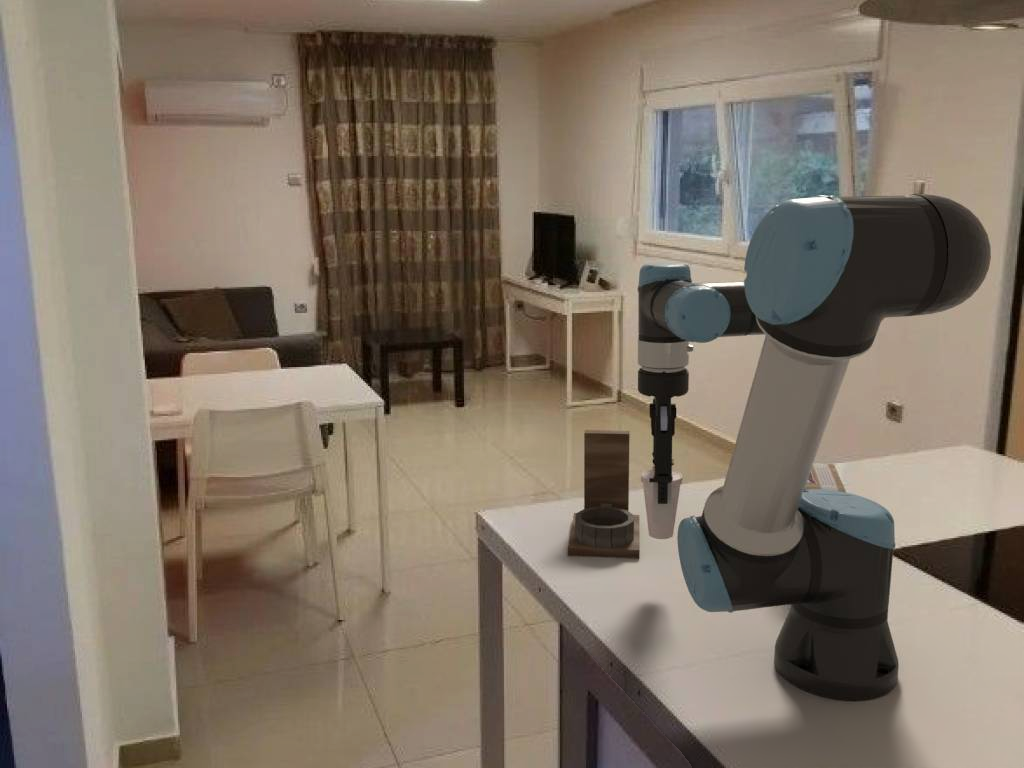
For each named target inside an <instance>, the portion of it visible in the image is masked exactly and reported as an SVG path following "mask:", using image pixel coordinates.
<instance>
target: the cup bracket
mask: <svg viewBox="0 0 1024 768" xmlns="http://www.w3.org/2000/svg"><path fill="white" fill-rule="evenodd" d="M630 431H631V430H610V429H609V430H603V429H601V430H600V429H596V430H595V429H585V430H584V434H583V435H584V436H583V439H584V442H583V443H584V446H583V447H584V448H583V449H584V453H583V455H584V457H583V458H584V459H583V461H584V463H583V465H584V466H583V468H584V475H583V476H584V477H583V479H584V480H583V481H584V482H583V484H584V485H583V487H584V489H583V493H584V494H583V495H584V496H583V497H584V499H583V500H584V501H583V504H584V505H583V507H584V508H583V509H582V510H580V511H577V512H574V513H573V516H572V523H571V527H570V532H569V539H568V542H567V543H568V544H567V556H569V557H571V556H573V557H590V558H591V557H592V558H593V557H594V558H616V559H617V558H618V559H619V558H621V559H640V556H641V555H640V547H641V546H640V545H641V542H640V538H641V537H640V515H639V514H633V513H632V512H630V511H629V502H630V500H629V497H630V495H629V493H630V435H631V434H630V433H631V432H630Z"/></svg>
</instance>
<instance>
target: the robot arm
mask: <svg viewBox="0 0 1024 768" xmlns="http://www.w3.org/2000/svg"><path fill="white" fill-rule="evenodd" d="M991 253H992V252H991V244H990V239H989V234H988V233H987V231H986V229H985V227H984V225H983V223H982V221H980V219H979V218H978V217H977V215H975V213H974V212H972V211H971V209H969V208H967V207H965V206H964V205H963V204H961V203H959V202H956V201H955V200H953V199H951V198H948V197H945V196H944V197H943V196H940V195H934V194H933V195H932V194H927V193H925V194H922V193H921V194H915V193H914V194H909V195H905V194H904V195H903V194H898V195H874V196H873V195H870V196H868V195H866V196H865V195H863V196H859V195H858V196H836V195H833V194H832V195H831V194H818V195H814V196H813V195H812V196H811V197H803V198H791V199H788V200H785V201H782V202H781V203H779V204H777V205H775V206H774V207H772V208H771V209H769V210H768V211H767V213H765V214H764V215H763V217H762V218H761V219H760V221H759V222H758V224H757V226H756V227H755V229H754V231H753V233H752V234H751V238H750V240H749V243H748V247H747V249H746V254H745V260H744V266H743V268H744V269H743V270H744V271H745V272H746V277H745V278H744V280H743V281H742V280H741V281H723V282H722V281H721V282H720V281H719V282H718V281H717V282H698V283H697V282H693V281H692V275H691V268H690V266H689V265H688V264H686V263H683V262H682V263H681V262H652V263H646V264H643V265H642V266H641V267H640V269H639V273H638V275H639V276H638V286H637V292H638V294H637V295H638V296H637V297H638V306H637V307H638V331H637V333H638V336H637V337H638V338H637V364H638V365H639V369H638V370H637V391H638V393H639V394H641V395H642V396H645V397H646V396H647V397H653V399H652V402H650V403H649V406H648V407H649V408H648V409H649V418H650V428H651V436H652V437H653V440H652V441H653V442H652V446H653V447H652V449H653V450H652V452H651V455H652V458H653V459H652V464H653V466H652V470H654V469H655V474H654V478H649V482H653V523H671V497H672V480H673V476H672V469H673V466H675V459H673V437H674V436H675V434H676V433H675V432H676V430H675V429H676V427H675V426H676V425H675V424H676V422H675V421H676V418H677V405H676V404H677V403H672V399H673V398H674V397H682V396H685V395H687V394H688V392H689V388H690V387H689V385H690V383H689V382H690V381H689V380H690V379H689V378H690V370H688V368H686V367H687V366H688V365H689V364H690V362H689V359H690V355H689V353H691V352H693V351H694V346H693V345H692V344H690V343H697V344H705V343H710V342H713V341H714V340H717V339H718V338H728V337H731V338H732V337H743V336H758V335H759V336H760V335H761V336H762V335H764V336H765V337H764V341H763V343H762V347H761V351H760V355H759V357H758V361H757V366H756V369H755V371H754V372H755V373H754V376H753V379H752V384H751V386H750V390H749V393H748V397H747V400H746V405H745V408H744V411H743V415H742V418H741V422H740V425H739V429H738V432H737V436H736V440H735V442H734V447H733V451H732V454H731V458H730V462H729V464H728V469H727V472H726V476H725V479H724V483H723V485H722V486H719V487H717V488H716V489H715V490H713V491H712V492H711V493H710V494H709V495H708V496H707V498H706V500H705V503H704V507H703V511H702V514H701V515H700V516H695V515H690V516H689V517H686V518H685V517H684V518H683V519H681V521H680V522H679V525H678V528H677V536H676V537H677V538H676V539H677V551H678V559H679V564H680V567H681V572H682V576H683V579H684V582H685V585H686V588H687V590H688V593H689V594H690V596H691V598H692V600H693V602H694V603H695V604H696V605H697V607H698V608H699V609H701V610H703V611H705V612H707V613H720V612H721V613H723V612H724V613H725V612H726V613H727V612H728V613H729V614H730V613H734V612H737V611H738V612H739V611H748V610H757V609H764V608H773V607H781V606H782V607H783V606H790V609H789V610H788V613H787V615H786V617H785V620H784V622H783V625H782V626H781V629H780V631H779V633H778V637H776V641H775V644H774V653H773V654H774V656H773V660H774V661H773V663H774V666H775V669H776V671H777V672H778V673H779V674H780V676H782V677H783V678H784V679H785V680H786V681H787V682H789V683H790V684H792V685H794V686H795V687H798V688H799V689H801V690H804V691H807V692H809V693H812V694H814V695H818V696H821V697H825V698H829V699H836V700H842V701H843V700H845V701H863V700H871V699H875V698H876V699H877V698H880V697H882V696H885V695H886V694H888V693H890V692H891V691H892V690H893V689H895V687H896V686H897V683H898V678H899V658H898V656H897V649H896V647H895V643H894V640H893V636H892V633H891V628H890V627H889V626H890V625H889V623H888V622H889V621H888V617H889V616H888V615H889V605H890V592H891V582H892V581H891V580H892V570H893V569H892V568H893V559H894V558H893V557H894V549H895V548H896V542H895V541H896V539H895V521H894V517H893V515H892V513H891V512H890V511H889V510H888V509H887V508H886V507H884V506H883V505H882V504H880V503H878V502H877V501H873V500H871V499H870V498H867V497H864V496H862V495H861V496H860V495H859V494H858V495H857V494H854V493H849V492H847V491H846V492H841V491H835V490H827V489H810V490H805V491H804V488H805V485H806V482H807V480H808V477H809V474H810V471H811V468H812V465H813V463H815V459H816V457H817V454H818V451H819V448H820V447H821V446H820V445H821V442H822V441H823V437H824V435H825V431H826V428H827V425H828V423H829V420H830V417H831V414H832V412H833V410H834V406H835V402H836V401H837V397H838V394H839V392H840V389H841V386H842V383H843V380H844V377H845V375H846V373H847V369H848V366H849V363H850V361H851V359H854V358H858V357H860V356H862V355H864V354H866V353H867V352H868V351H870V349H871V348H872V346H873V344H874V341H875V338H876V336H877V333H878V331H879V330H880V329H879V328H880V325H881V323H882V322H883V321H884V319H886V318H901V317H902V318H903V317H913V316H914V317H915V316H924V315H925V316H927V315H932V314H937V313H941V312H942V313H943V312H945V311H948V310H951V309H953V308H955V307H957V306H960V305H962V304H963V303H964V302H965V301H967V300H969V298H971V297H972V296H973V295H974V294H975V293H976V292H977V291H978V290H979V288H980V287H981V285H982V284H983V282H984V281H985V280H986V276H987V274H988V273H989V272H988V271H989V268H990V266H991V257H992V255H991ZM803 491H804V492H803Z"/></svg>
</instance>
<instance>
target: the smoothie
mask: <svg viewBox="0 0 1024 768" xmlns="http://www.w3.org/2000/svg"><path fill="white" fill-rule="evenodd" d="M654 474H655V469H654V470H653V469H649V470H646V471H643V472H641V474H640V482H641V483H642V486H643V487H642V488H643V497H644V503H645V513H646V520H647V528H648V536H649V537H650V538H653V539H657V540H668V539H671V538H673V536H674V531H675V524H676V519H677V518H676V517H677V511H678V503H679V497H680V491H681V485H682V484H683V482H684V481H683V474H682V473H680V472H679V471H676V470H674V469H673V470H672V476H673V480H672V497H671V523H653V482H649V478H654Z"/></svg>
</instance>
